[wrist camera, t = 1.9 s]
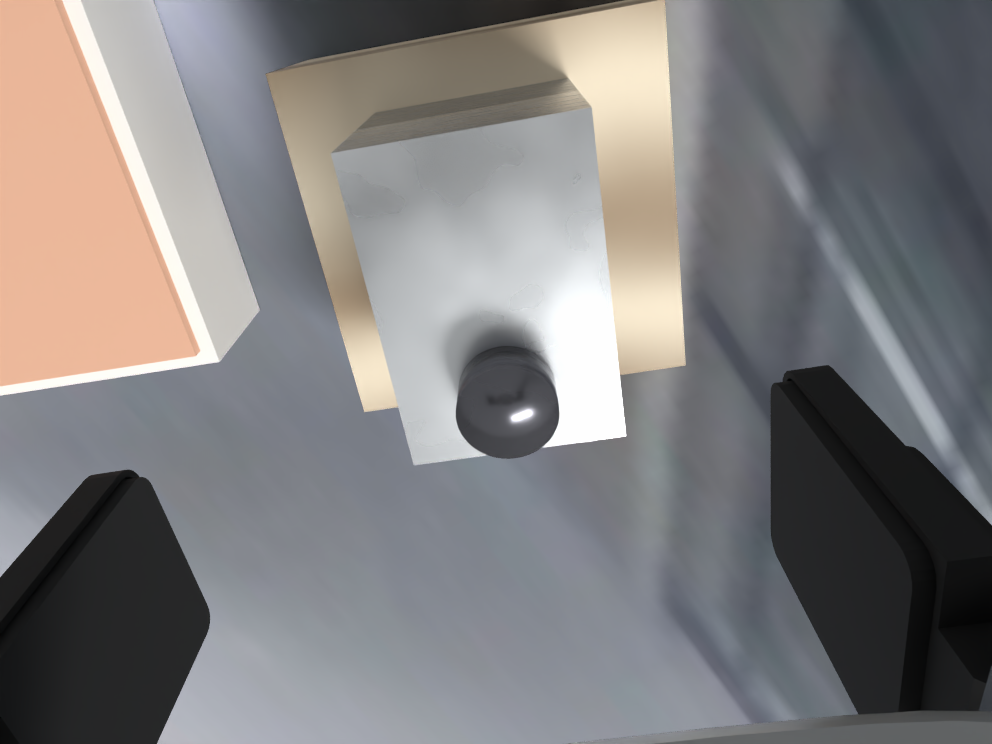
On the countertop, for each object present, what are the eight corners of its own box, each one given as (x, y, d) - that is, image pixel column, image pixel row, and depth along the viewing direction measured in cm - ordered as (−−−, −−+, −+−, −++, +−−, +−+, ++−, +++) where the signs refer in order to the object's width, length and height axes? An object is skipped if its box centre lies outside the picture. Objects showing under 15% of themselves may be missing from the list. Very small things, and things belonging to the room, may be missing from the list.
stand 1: (-196, 37, 24) (-351, 46, 20) (142, -32, 23) (57, -39, 19) (-21, 354, 30) (-113, 417, 25) (259, 309, 29) (215, 367, 24)
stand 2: (308, 59, 25) (265, 73, 20) (634, -2, 24) (664, -2, 19) (385, 349, 30) (364, 411, 25) (657, 308, 29) (685, 365, 24)
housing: (375, 112, 21) (317, 165, 14) (568, 77, 20) (598, 115, 14) (433, 361, 24) (408, 493, 18) (598, 337, 24) (633, 463, 17)
